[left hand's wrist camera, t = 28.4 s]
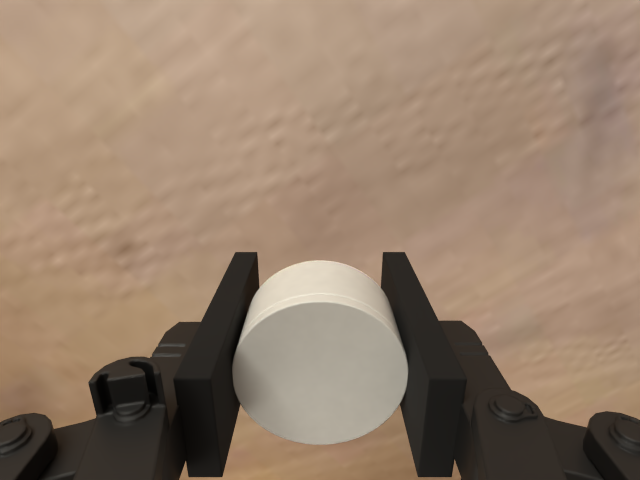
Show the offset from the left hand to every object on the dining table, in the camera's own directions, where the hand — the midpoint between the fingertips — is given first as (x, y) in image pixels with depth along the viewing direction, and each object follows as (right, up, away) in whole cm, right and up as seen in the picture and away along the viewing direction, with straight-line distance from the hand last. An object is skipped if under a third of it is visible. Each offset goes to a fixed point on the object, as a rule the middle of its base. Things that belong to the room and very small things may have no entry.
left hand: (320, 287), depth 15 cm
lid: (0, -2, -4) cm, 4 cm away
